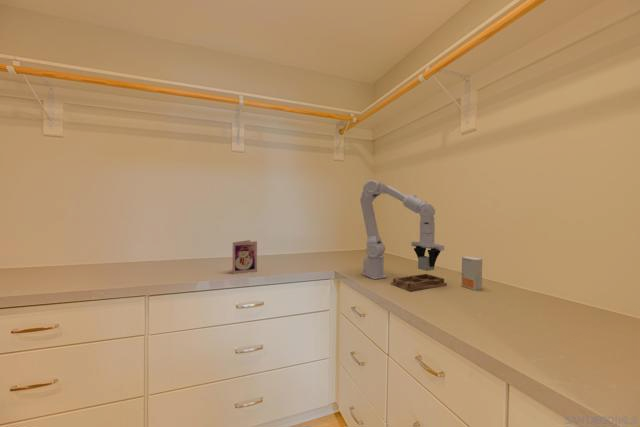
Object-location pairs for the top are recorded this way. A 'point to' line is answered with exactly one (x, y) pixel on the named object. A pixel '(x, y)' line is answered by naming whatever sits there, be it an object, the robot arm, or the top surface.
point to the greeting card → (244, 257)
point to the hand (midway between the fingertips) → (426, 265)
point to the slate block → (424, 263)
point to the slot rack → (418, 282)
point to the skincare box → (472, 273)
